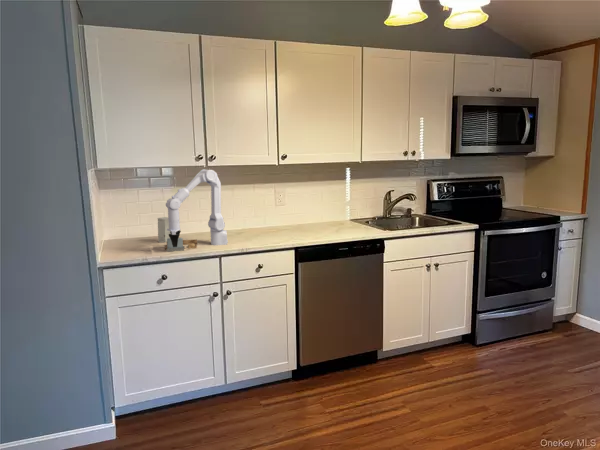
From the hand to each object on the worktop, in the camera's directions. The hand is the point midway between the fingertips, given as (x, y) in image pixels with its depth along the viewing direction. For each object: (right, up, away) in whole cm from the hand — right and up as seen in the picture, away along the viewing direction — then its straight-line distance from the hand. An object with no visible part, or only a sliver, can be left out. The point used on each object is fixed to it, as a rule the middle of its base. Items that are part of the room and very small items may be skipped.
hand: (175, 245), depth 245 cm
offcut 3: (+6, -2, +13) cm, 14 cm away
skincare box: (-13, 0, +27) cm, 30 cm away
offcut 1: (+7, -1, +8) cm, 11 cm away
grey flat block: (0, -3, 0) cm, 3 cm away
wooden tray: (+1, -2, +9) cm, 10 cm away
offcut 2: (+7, -3, +8) cm, 11 cm away
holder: (0, -4, +1) cm, 4 cm away
